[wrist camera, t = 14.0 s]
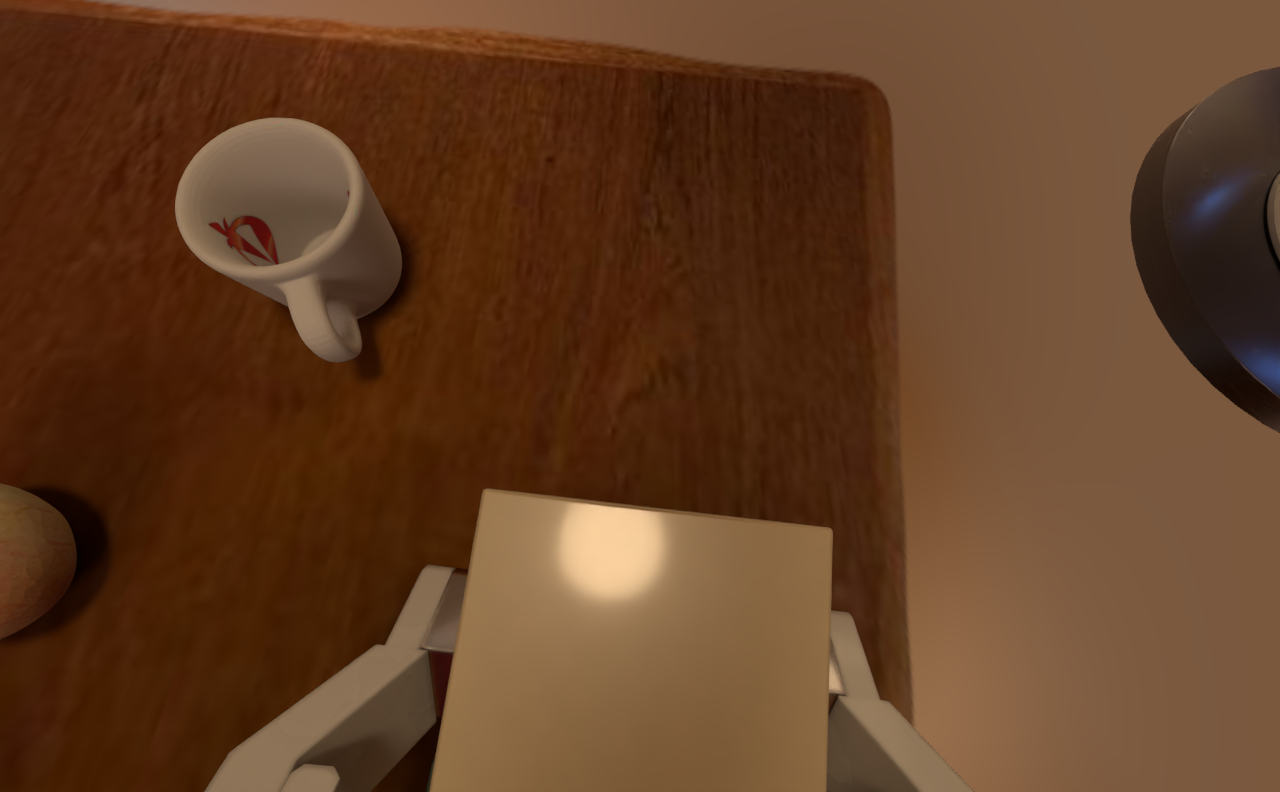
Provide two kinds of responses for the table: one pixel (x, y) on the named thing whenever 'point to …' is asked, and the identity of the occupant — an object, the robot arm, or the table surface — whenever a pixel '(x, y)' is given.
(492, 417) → the table surface
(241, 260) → the cup
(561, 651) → the plain beige block
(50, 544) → the fruit
